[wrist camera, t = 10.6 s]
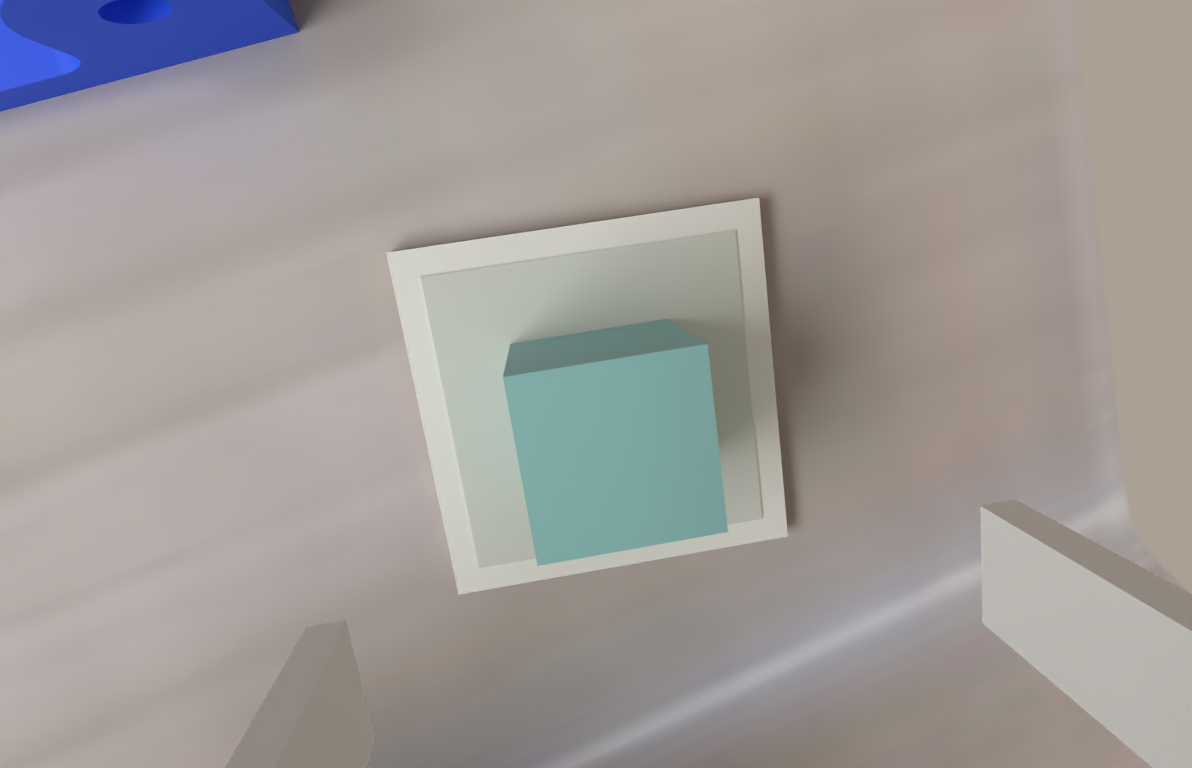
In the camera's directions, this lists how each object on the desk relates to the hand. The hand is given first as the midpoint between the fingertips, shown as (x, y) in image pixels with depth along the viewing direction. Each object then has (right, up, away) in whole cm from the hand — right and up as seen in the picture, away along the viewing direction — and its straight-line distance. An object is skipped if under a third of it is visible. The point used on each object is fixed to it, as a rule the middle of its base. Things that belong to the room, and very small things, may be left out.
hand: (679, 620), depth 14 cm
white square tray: (-1, +4, +17) cm, 18 cm away
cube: (-1, +4, +17) cm, 17 cm away
